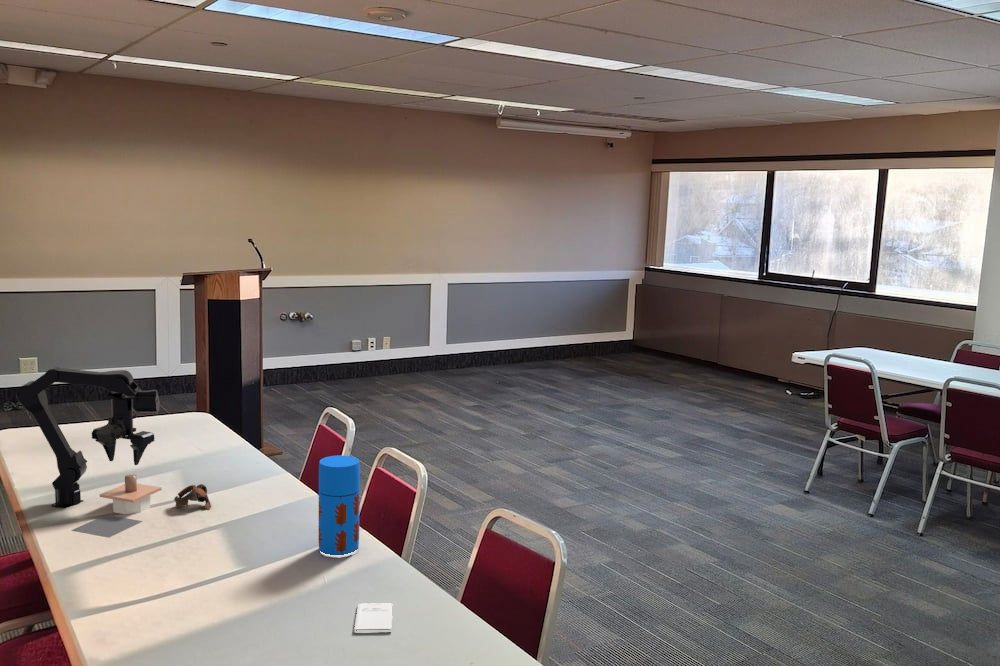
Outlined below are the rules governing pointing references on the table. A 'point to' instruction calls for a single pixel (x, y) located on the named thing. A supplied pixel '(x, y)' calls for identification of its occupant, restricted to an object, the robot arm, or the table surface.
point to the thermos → (339, 504)
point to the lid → (130, 490)
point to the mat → (107, 526)
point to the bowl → (131, 506)
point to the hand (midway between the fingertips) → (123, 462)
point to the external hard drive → (374, 616)
